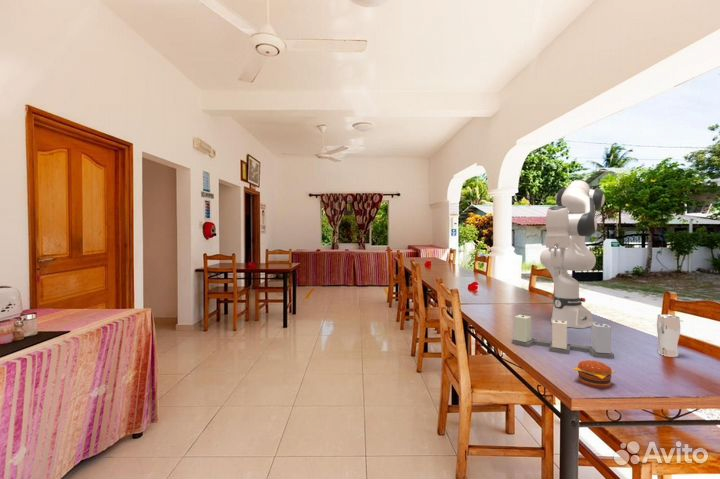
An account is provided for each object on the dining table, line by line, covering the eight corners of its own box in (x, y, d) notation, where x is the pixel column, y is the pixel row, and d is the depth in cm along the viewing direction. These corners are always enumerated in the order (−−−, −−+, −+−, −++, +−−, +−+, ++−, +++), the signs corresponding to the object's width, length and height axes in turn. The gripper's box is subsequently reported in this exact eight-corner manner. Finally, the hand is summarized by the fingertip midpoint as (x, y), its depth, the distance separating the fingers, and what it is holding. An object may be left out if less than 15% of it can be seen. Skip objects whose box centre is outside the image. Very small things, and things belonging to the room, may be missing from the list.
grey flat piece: (515, 338, 165) (515, 334, 165) (612, 351, 145) (612, 348, 145) (510, 345, 155) (510, 341, 155) (614, 360, 135) (614, 356, 135)
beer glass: (684, 358, 137) (685, 318, 137) (663, 357, 139) (663, 318, 138) (672, 352, 144) (673, 314, 144) (652, 351, 145) (653, 313, 145)
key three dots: (591, 348, 144) (591, 322, 144) (605, 349, 143) (606, 323, 143) (596, 352, 139) (596, 325, 139) (611, 353, 138) (611, 326, 138)
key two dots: (553, 343, 150) (553, 319, 150) (567, 345, 148) (567, 320, 147) (552, 347, 146) (552, 321, 146) (566, 349, 143) (566, 323, 143)
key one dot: (519, 337, 160) (519, 314, 160) (531, 339, 156) (531, 316, 156) (514, 339, 157) (514, 315, 156) (525, 342, 153) (525, 317, 152)
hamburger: (604, 391, 110) (604, 370, 110) (571, 381, 118) (571, 360, 118) (617, 383, 116) (617, 363, 116) (585, 374, 124) (585, 354, 123)
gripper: (564, 244, 145) (564, 279, 146) (566, 242, 163) (566, 273, 163) (546, 244, 149) (546, 278, 149) (551, 242, 166) (550, 272, 167)
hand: (557, 275), depth 156 cm, fingers open, 6 cm apart
